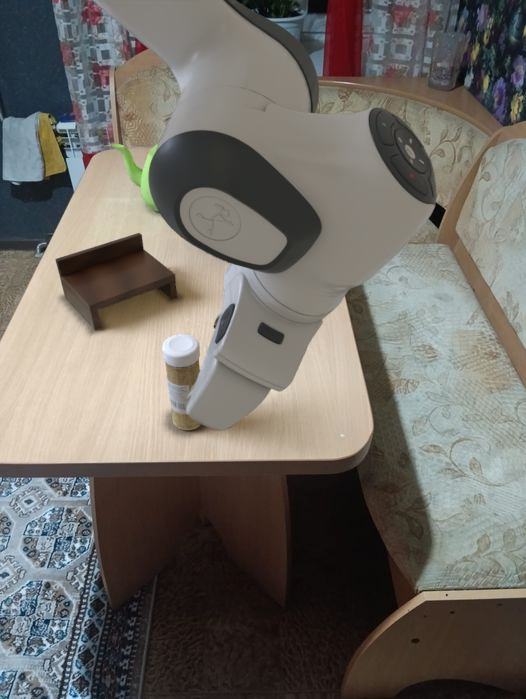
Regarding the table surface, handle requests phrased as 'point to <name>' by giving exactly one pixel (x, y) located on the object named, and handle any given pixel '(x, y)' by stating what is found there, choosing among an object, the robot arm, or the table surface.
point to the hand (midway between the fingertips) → (208, 360)
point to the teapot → (139, 172)
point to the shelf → (112, 276)
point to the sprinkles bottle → (181, 375)
